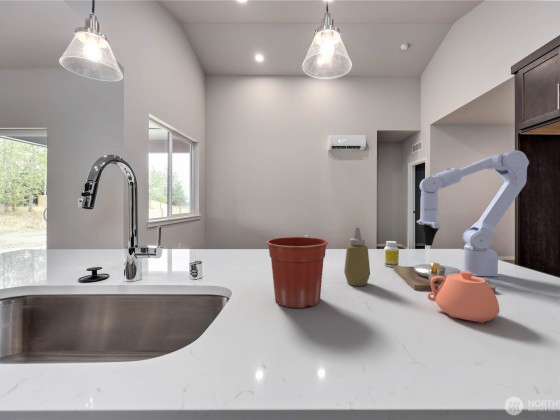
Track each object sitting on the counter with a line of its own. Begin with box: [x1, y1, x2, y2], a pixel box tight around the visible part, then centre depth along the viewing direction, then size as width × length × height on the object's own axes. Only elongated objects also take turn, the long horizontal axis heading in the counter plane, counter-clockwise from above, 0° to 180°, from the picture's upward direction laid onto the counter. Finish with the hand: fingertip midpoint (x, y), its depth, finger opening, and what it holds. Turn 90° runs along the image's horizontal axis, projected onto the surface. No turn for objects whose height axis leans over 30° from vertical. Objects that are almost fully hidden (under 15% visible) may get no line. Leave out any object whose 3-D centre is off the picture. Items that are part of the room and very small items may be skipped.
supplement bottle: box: [383, 240, 400, 268], centre depth 108 cm, size 5×5×10 cm
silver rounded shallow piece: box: [413, 262, 461, 281], centre depth 88 cm, size 17×14×4 cm
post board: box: [392, 265, 497, 294], centre depth 89 cm, size 22×22×6 cm
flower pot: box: [266, 236, 329, 309], centre depth 72 cm, size 16×16×16 cm
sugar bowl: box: [427, 271, 500, 324], centre depth 63 cm, size 12×14×10 cm
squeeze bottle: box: [343, 227, 371, 287], centre depth 86 cm, size 8×8×18 cm
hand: (428, 245), depth 102 cm, fingers closed
